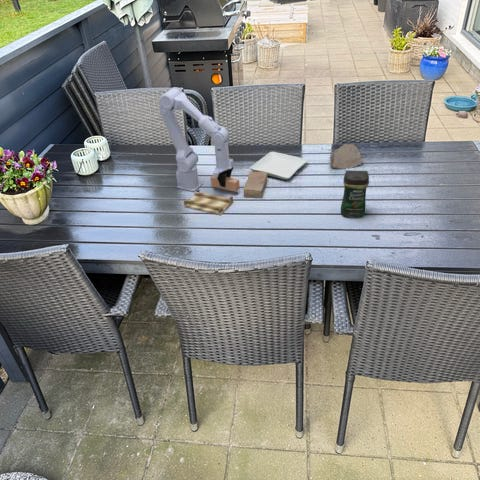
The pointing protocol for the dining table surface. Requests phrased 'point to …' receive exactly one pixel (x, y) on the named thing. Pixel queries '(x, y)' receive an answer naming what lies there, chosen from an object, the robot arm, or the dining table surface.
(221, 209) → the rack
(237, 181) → the clay strip
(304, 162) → the salad plate
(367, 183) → the coffee jar
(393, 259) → the dining table surface
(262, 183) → the brick
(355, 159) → the pumice stone
